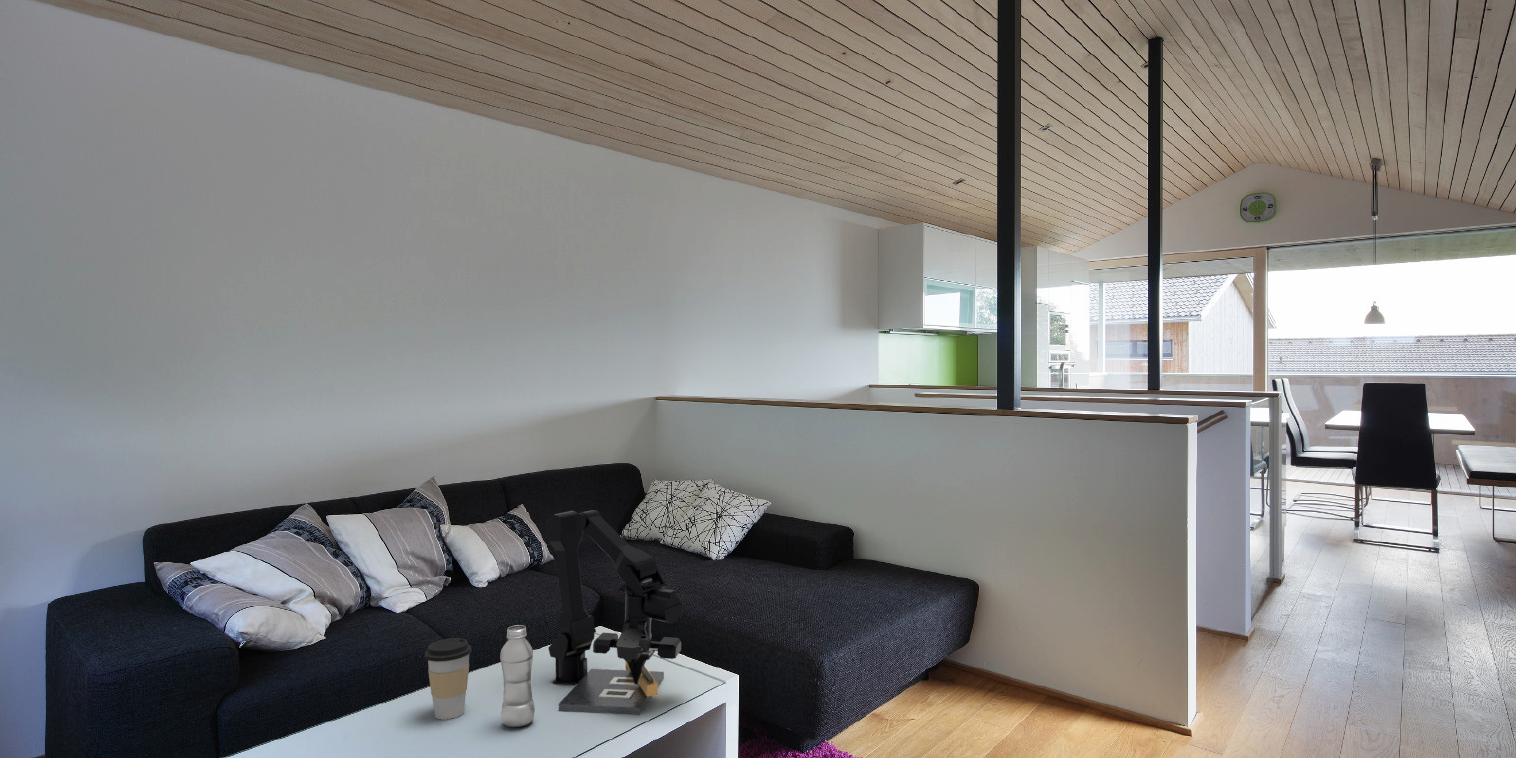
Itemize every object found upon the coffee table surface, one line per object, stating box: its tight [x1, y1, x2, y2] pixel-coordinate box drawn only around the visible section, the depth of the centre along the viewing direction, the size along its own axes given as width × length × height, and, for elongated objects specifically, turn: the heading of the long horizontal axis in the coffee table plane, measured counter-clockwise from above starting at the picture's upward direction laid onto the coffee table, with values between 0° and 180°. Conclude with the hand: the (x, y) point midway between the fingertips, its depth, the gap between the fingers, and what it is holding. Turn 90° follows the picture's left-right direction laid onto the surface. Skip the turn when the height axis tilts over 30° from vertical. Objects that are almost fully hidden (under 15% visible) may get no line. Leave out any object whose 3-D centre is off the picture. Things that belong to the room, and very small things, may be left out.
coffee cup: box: [423, 637, 472, 721], centre depth 164 cm, size 9×9×15 cm
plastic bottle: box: [499, 624, 536, 728], centre depth 159 cm, size 6×7×20 cm
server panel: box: [558, 668, 665, 716], centre depth 174 cm, size 18×20×2 cm
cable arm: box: [624, 660, 659, 697], centre depth 175 cm, size 4×19×3 cm, turn 22°
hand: (636, 683), depth 170 cm, fingers closed
